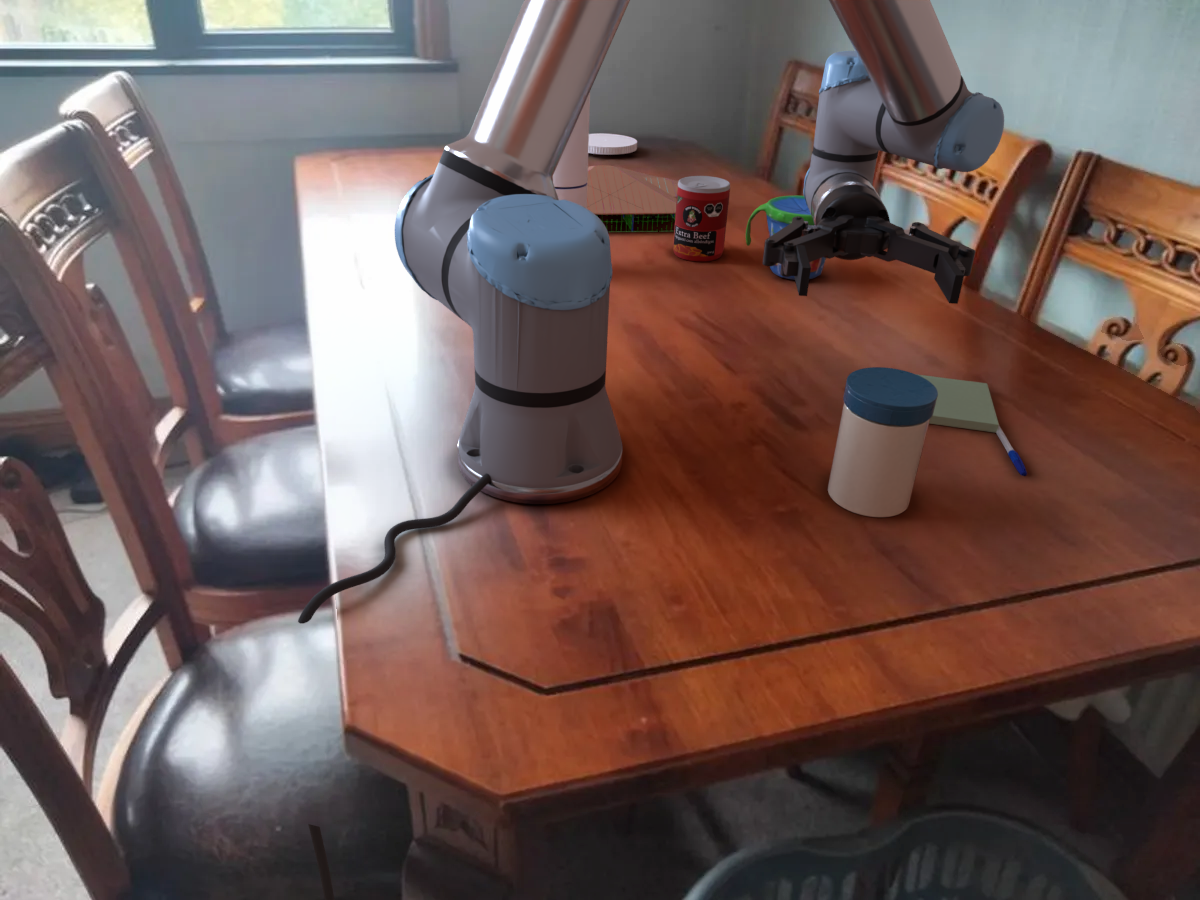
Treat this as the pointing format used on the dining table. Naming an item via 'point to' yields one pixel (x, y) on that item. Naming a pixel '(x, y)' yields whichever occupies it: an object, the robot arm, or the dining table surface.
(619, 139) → the plastic lid
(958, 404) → the sticky note pad
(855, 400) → the jar lid
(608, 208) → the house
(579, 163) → the cylindrical container
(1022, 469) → the marker pen
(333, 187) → the dining table surface
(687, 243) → the canned food
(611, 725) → the dining table surface
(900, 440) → the jam jar
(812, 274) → the snack cup
